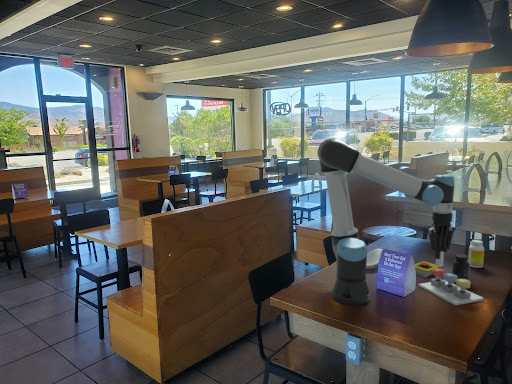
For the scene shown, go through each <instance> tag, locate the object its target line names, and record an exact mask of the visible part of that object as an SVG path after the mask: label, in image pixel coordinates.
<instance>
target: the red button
mask: <svg viewBox="0 0 512 384" xmlns="http://www.w3.org/2000/svg"><path fill="white" fill-rule="evenodd" d="M445 273H446V270H445V269H443V268H441V267H440V268H433V269H432V275H431V276H433V277H435V279H437V280H440V279H441V278H444V274H445Z"/></svg>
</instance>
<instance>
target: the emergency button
mask: <svg viewBox="0 0 512 384" xmlns="http://www.w3.org/2000/svg"><path fill="white" fill-rule="evenodd" d="M433 268H440V269H441V267H439V266H437V265H436V263H431V262H427V261H425V260H424V261H420V262H418V263H417V262H416V263H415V269H416V274H415V275H417V276H420V277H424V278H428V277H431V276H433V275H432V269H433Z"/></svg>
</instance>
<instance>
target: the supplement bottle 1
mask: <svg viewBox="0 0 512 384" xmlns="http://www.w3.org/2000/svg"><path fill="white" fill-rule="evenodd" d="M468 256H469V255H466V254H461V253H459V254H456V255H455V260H453V262H452V271H451V274H455V275H457V279H466V280H469V281H470V275H471V274H470V273H471V266H470V263H469V262H468ZM454 284H456V282H454Z"/></svg>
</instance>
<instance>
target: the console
mask: <svg viewBox="0 0 512 384" xmlns="http://www.w3.org/2000/svg"><path fill="white" fill-rule="evenodd" d="M418 287H420V288H422V289H423V290H425V291H427V292H429V293H431V294H433V295H435V296H436V297H438V298H441V299H443V300H445V301H446V302H448V303H450V304H451V305H453V306H459V305H464V304H469V303H471V304H472V303H475V302H480V301H484V297H483V296H481V295H478V294H476V293H474V292H473V291H469V290H467V289H465V291H461V288H460V287H458V286H456V283H452V285H448V282H447V281H445V280H444V279H441V278H440V280H437V279H436V278H431V279H430V281H428V282H423V283H418Z"/></svg>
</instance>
